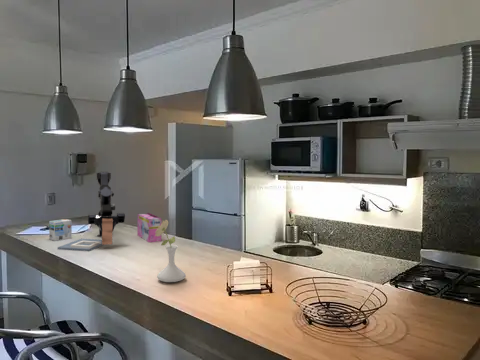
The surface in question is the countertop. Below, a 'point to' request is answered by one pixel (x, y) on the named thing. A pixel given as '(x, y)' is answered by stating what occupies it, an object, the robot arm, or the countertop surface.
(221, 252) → the countertop surface
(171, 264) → the flower in vase
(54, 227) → the light bulb box
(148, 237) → the gum box
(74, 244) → the board
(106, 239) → the terracotta block
